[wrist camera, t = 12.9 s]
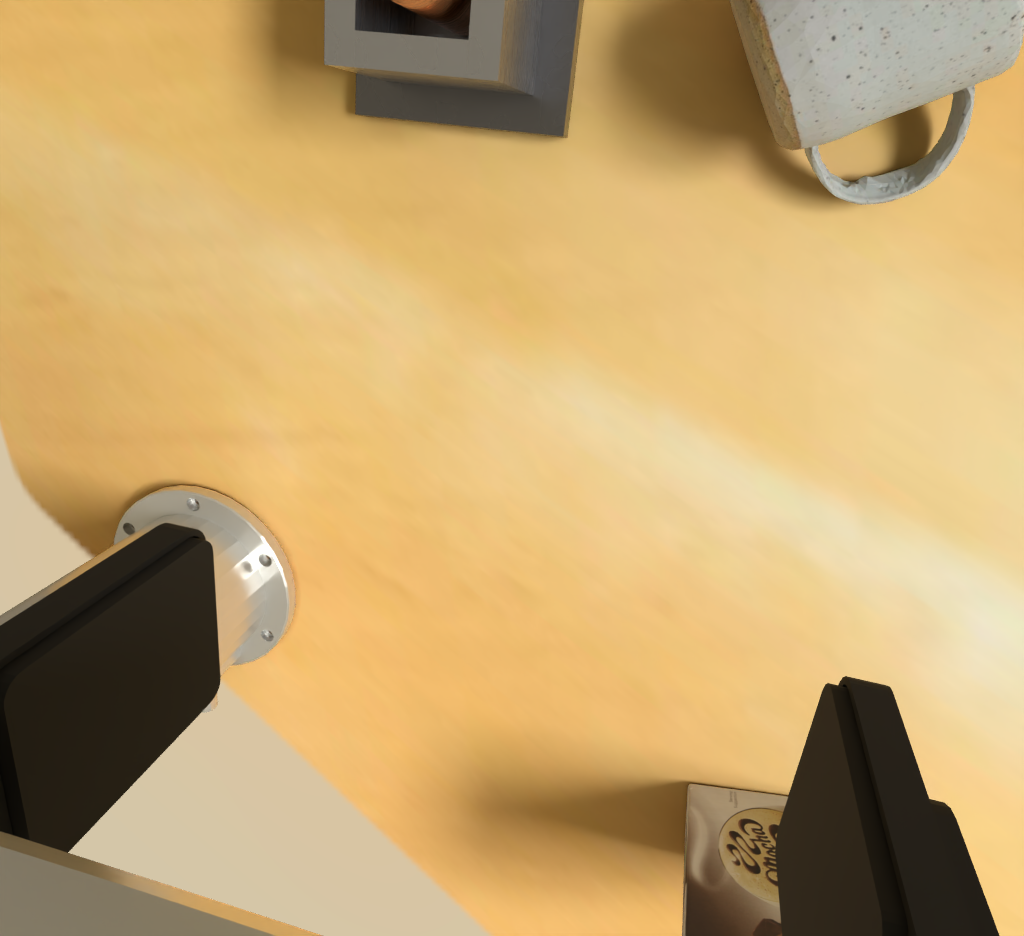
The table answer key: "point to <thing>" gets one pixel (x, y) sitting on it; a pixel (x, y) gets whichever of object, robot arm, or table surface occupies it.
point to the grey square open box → (436, 45)
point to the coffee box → (731, 863)
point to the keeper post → (547, 112)
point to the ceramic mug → (873, 72)
